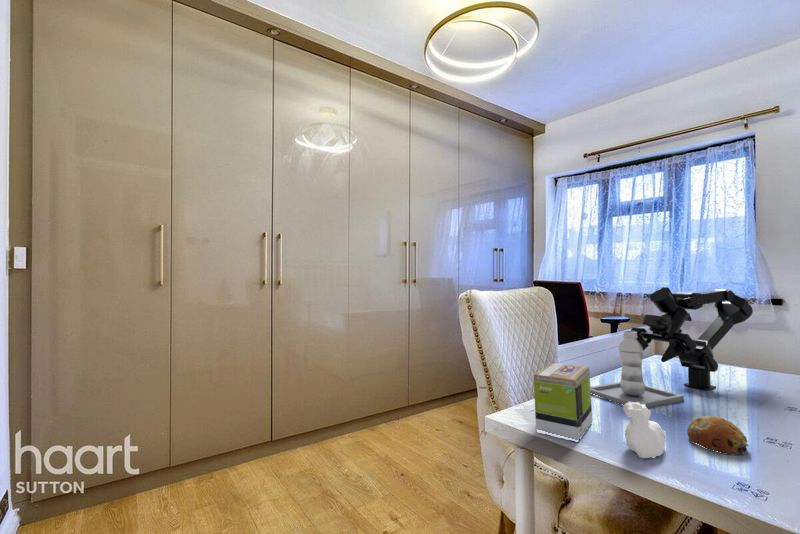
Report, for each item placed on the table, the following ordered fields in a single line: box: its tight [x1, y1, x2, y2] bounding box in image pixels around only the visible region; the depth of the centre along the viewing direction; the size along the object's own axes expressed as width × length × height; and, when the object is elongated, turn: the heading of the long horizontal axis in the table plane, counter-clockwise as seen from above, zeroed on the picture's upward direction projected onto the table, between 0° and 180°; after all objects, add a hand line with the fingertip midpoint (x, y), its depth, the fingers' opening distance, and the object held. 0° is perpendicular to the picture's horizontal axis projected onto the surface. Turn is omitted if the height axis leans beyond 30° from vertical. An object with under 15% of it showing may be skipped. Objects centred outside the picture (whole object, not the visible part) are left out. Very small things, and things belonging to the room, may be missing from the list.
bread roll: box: [687, 415, 749, 455], centre depth 82 cm, size 10×10×8 cm
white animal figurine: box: [622, 402, 666, 459], centre depth 80 cm, size 12×8×11 cm
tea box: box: [533, 362, 593, 440], centre depth 92 cm, size 15×10×15 cm
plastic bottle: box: [618, 330, 646, 396], centre depth 115 cm, size 6×7×20 cm
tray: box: [590, 381, 685, 409], centre depth 115 cm, size 20×18×2 cm
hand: (648, 358), depth 117 cm, fingers open, 9 cm apart
